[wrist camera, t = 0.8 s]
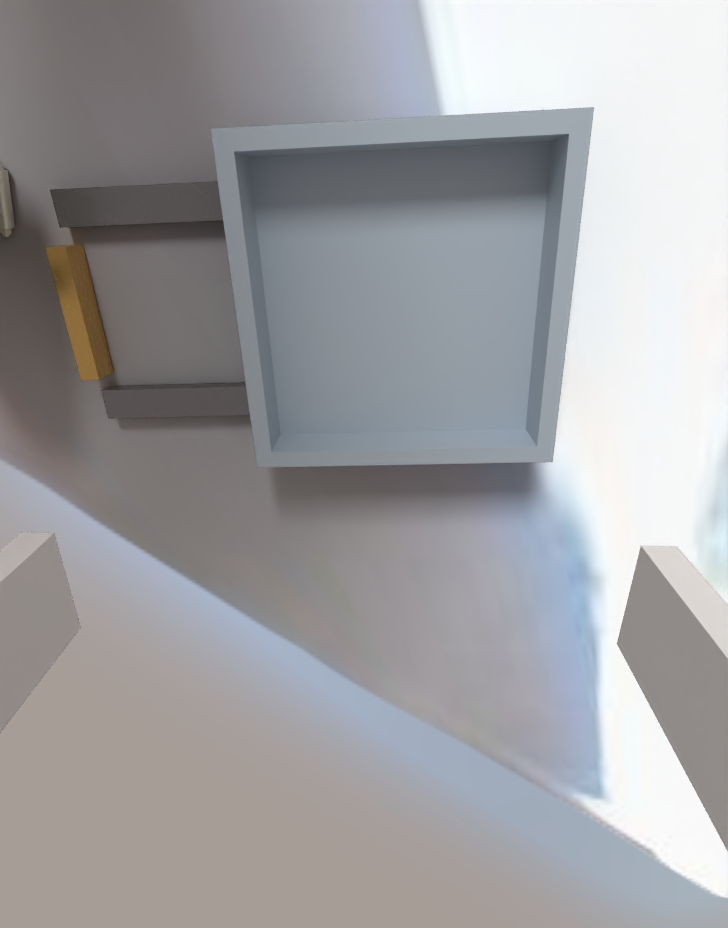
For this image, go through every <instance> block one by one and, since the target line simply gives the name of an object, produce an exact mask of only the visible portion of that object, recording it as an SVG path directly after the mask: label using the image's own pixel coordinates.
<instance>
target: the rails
mask: <svg viewBox="0 0 728 928" xmlns="http://www.w3.org/2000/svg"><path fill="white" fill-rule="evenodd" d="M50 191H51V195H52V199H53V203H54V207H55V211H56V215H57V219H58V223H59V227H60V228H62V227H85V226H107V225H129V224H151V223H173V222H195V221H217V220H223V216H222V208H221V201H220V194H219V187H218V181H216V182H196V183H175V184H155V185H135V186H115V187H95V188H75V189H55V190H50ZM45 249H46V252H47V256H48V260H49V264H50V267H51V271H52V275H53V278H54V282H55V286H56V289H57V293H58V297H59V301H60V304H61V308H62V312H63V315H64V319H65V323H66V327H67V330H68V334H69V338H70V341H71V345H72V349H73V352H74V356H75V360H76V364H77V367H78V371H79V375H80V378H81V380H100V379H102V378H103V377H105V376H107V375H109V374H110V373H112V372H113V367H112V363H111V359H110V355H109V351H108V347H107V343H106V339H105V334H104V330H103V326H102V322H101V318H100V314H99V310H98V305H97V301H96V297H95V293H94V289H93V285H92V281H91V277H90V272H89V268H88V264H87V260H86V256H85V252H84V248H83V245H62V246H52V247H45ZM101 391H102V395H103V399H104V403H105V406H106V410H107V414H108V418H109V419H113V418H154V417H195V416H235V415H250V411H249V404H248V397H247V390H246V382H239V383H203V384H168V385H132V386H108V387H106V388H105V389H103V390H101Z"/></svg>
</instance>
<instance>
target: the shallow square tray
mask: <svg viewBox="0 0 728 928" xmlns="http://www.w3.org/2000/svg"><path fill="white" fill-rule="evenodd" d="M593 112H594V107H591V108H573V109H555V110H537V111H519V112H501V113H483V114H465V115H446V116H428V117H410V118H392V119H374V120H356V121H338V122H320V123H302V124H284V125H266V126H248V127H230V128H212V129H211V136H212V143H213V150H214V158H215V165H216V172H217V179H218V187H219V194H220V201H221V208H222V216H223V223H224V230H225V237H226V245H227V252H228V259H229V266H230V274H231V281H232V288H233V295H234V303H235V310H236V317H237V324H238V332H239V339H240V346H241V353H242V361H243V368H244V375H245V382H246V390H247V397H248V404H249V411H250V419H251V426H252V433H253V440H254V448H255V455H256V462H257V468H260V467H313V466H366V465H418V464H471V463H524V462H553V454H554V445H555V436H556V428H557V419H558V411H559V402H560V394H561V385H562V377H563V368H564V360H565V351H566V342H567V334H568V325H569V317H570V308H571V300H572V291H573V283H574V274H575V265H576V257H577V248H578V240H579V231H580V223H581V214H582V206H583V197H584V189H585V180H586V171H587V163H588V154H589V146H590V137H591V129H592V120H593Z"/></svg>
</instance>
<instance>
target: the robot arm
mask: <svg viewBox="0 0 728 928" xmlns="http://www.w3.org/2000/svg"><path fill="white" fill-rule="evenodd" d="M80 628H81V627H80V623H79V619H78V616H77V613H76V609H75V605H74V602H73V598H72V595H71V591H70V587H69V584H68V580H67V577H66V573H65V570H64V566H63V563H62V559H61V555H60V552H59V548H58V545H57V541H56V537H55V534H54V533H36V532H21V533H20V534H19V535H18V536H17V537H15V538H14V539H13V540H12V541H11V542H9V544H7V545H6V546H5V547H3V548H2V549H1V550H0V733H1V731H2V730H3V729H4V727H5V726H6V725H7V723H8V722H9V721H10V719H11V718H12V717H13V716H14V714H15V713H16V712H17V710H18V709H19V708H20V707H21V705H22V704H23V702H24V701H25V700H26V699H27V697H28V696H29V695H30V693H31V692H32V691H33V689H34V688H35V687H36V686H37V684H38V683H39V682H40V680H41V679H42V678H43V676H44V675H45V674H46V673H47V671H48V670H49V669H50V667H51V666H52V665H53V663H54V662H55V661H56V660H57V658H58V657H59V656H60V654H61V653H62V652H63V650H64V649H65V648H66V646H67V645H68V644H69V643H70V641H71V640H72V639H73V637H74V636H75V634H76V633H77V632H78V631H79V629H80ZM617 645H618V647H619V648H620V650H621V652H622V654H623V656H624V658H625V660H626V662H627V663H628V665H629V667H630V669H631V671H632V673H633V675H634V677H635V678H636V680H637V682H638V684H639V686H640V688H641V690H642V692H643V693H644V695H645V697H646V699H647V701H648V703H649V705H650V707H651V708H652V710H653V712H654V714H655V716H656V718H657V720H658V722H659V723H660V725H661V727H662V729H663V731H664V733H665V735H666V737H667V738H668V740H669V742H670V744H671V746H672V748H673V750H674V752H675V753H676V755H677V757H678V759H679V761H680V763H681V765H682V767H683V768H684V770H685V772H686V774H687V776H688V778H689V780H690V782H691V783H692V785H693V787H694V789H695V791H696V793H697V795H698V797H699V798H700V800H701V802H702V804H703V806H704V808H705V810H706V812H707V813H708V815H709V817H710V819H711V821H712V823H713V825H714V826H715V828H716V830H717V832H718V834H719V836H720V838H721V840H722V841H723V843H724V845H725V847H726V849H727V851H728V604H727V603H726V602H725V601H724V599H723V598H722V597H721V596H720V595H719V594H718V593H717V591H716V590H715V589H714V588H713V587H712V586H711V585H710V584H709V582H708V581H707V580H706V579H705V578H704V577H703V576H702V574H701V573H700V572H699V571H698V570H697V569H696V568H695V566H694V565H693V564H692V563H691V562H690V561H689V560H688V558H687V557H686V556H685V555H684V554H683V553H682V552H681V550H680V549H679V548H678V547H676V546H641V548H640V552H639V556H638V560H637V564H636V568H635V572H634V576H633V580H632V584H631V589H630V593H629V597H628V601H627V605H626V609H625V613H624V617H623V621H622V625H621V629H620V634H619V638H618V642H617Z"/></svg>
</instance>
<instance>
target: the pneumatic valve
mask: <svg viewBox="0 0 728 928" xmlns="http://www.w3.org/2000/svg"><path fill="white" fill-rule="evenodd" d="M12 228H15V223H14V215H13V207H12V199H11V191H10V184H9V176H8V170H5V169H4V168H3V163H0V233H1V234H3V236H7V237H9V236H10V234H12V231H11V230H12Z"/></svg>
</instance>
